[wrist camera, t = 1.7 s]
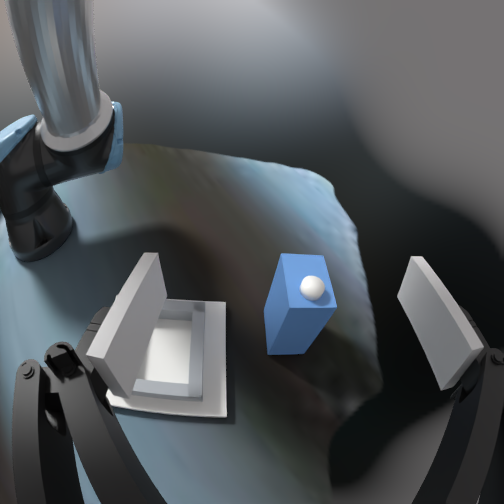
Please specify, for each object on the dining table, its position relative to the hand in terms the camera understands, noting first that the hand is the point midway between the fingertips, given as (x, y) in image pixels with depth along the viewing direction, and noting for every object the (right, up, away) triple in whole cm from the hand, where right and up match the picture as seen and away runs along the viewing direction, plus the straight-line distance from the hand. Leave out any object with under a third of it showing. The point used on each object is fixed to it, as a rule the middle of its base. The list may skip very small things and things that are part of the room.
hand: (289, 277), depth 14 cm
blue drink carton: (+3, -10, +24) cm, 26 cm away
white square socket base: (-13, -12, +19) cm, 26 cm away
